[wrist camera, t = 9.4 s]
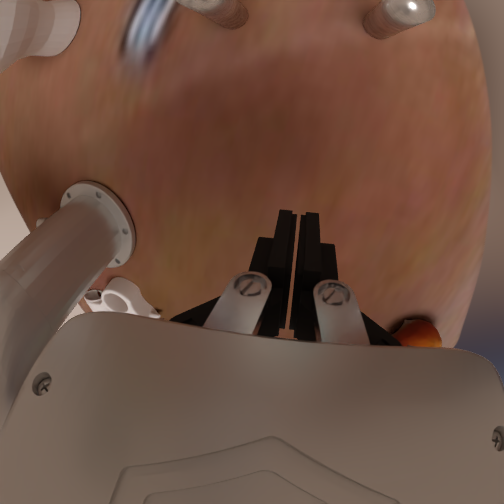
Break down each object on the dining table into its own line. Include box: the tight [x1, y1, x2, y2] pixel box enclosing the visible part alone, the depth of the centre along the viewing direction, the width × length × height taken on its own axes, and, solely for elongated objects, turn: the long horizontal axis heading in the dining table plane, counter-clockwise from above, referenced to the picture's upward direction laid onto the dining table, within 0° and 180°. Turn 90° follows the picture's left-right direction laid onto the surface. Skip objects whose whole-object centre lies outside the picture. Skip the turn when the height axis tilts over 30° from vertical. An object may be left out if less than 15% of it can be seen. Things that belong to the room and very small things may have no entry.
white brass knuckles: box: [84, 277, 160, 318], centre depth 42 cm, size 3×18×15 cm
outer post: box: [363, 0, 436, 39], centre depth 11 cm, size 3×3×9 cm
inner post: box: [176, 0, 248, 29], centre depth 13 cm, size 3×3×9 cm
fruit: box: [391, 319, 442, 347], centre depth 31 cm, size 8×8×8 cm
